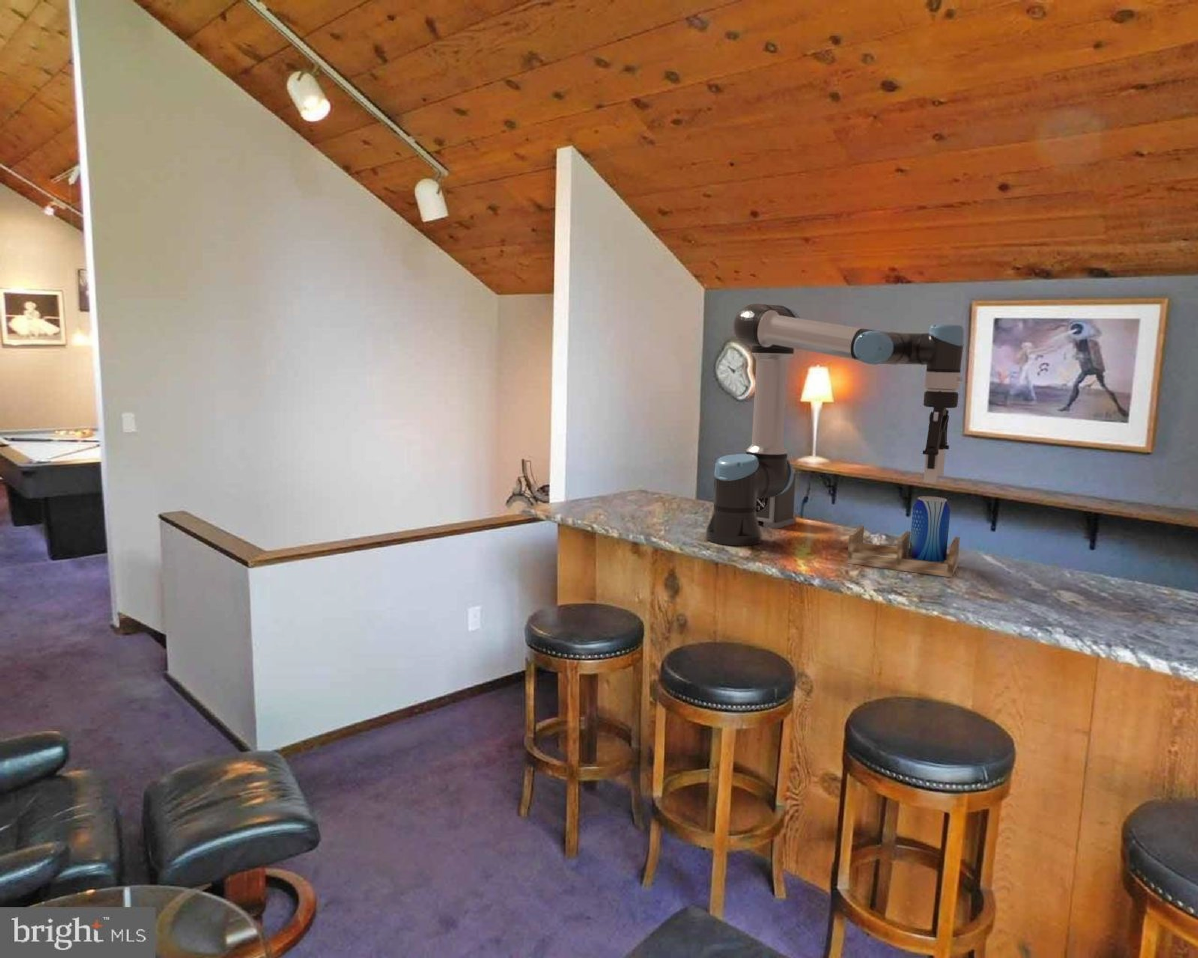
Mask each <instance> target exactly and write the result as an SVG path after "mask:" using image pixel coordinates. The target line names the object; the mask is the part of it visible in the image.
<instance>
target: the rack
mask: <svg viewBox="0 0 1198 958" xmlns="http://www.w3.org/2000/svg"><path fill="white" fill-rule="evenodd" d="M864 531H865V526H864V525H859V526H858V527H857V528H855V529H854V530H853V531H852V532H851V533H850V534H848V545H847V546H848V548H847V560H846V561H847V562H846V564H852V565H858V566H860V565H861V566H865V567H866V566H867V567H874V568H881V569H889V570H896V571H901V572H903V571H904V572H911V573H917V574H926V575H932V576H941V577H947V578H952V577H953V575H954V573H955V571H956V570H957V567H958V561H959V549H960V540H961V537H960V536H955V537H954V538H953V540H952V541H951V544H950V545H949V547H948V548H949V549H948V550H949V551H948V552H947V554H946V560H945V561H944V562H943V564H941V563H933V562H926V561H918V560H911V558H910V557H909V551H910V538H911V530H910V531H908V530H906V531H905V532H904V533H903V534H902V535H901V536H900V537H899V539H898V540H897V546H893V545H885V544H877V543H868V542H864V534H865V533H864Z"/></svg>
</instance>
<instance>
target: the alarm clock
mask: <svg viewBox="0 0 1198 958" xmlns="http://www.w3.org/2000/svg"><path fill="white" fill-rule="evenodd" d="M793 470H794V478H793V481H792V484H791V486H790V487H789V489H788V490H787V491H785V492H784V493H782V494H780V495H777V496H775V497H771V498H768V497H767V498H761V499H756V516H757V520H758V522H759V521H760V522H763V524H762V526H763V527H764V528H770V529H779V528H783V527H786V526H790V525H793V524H796V521H797V518H796V516H794V510H795V509H794V508H795V507H794V506H795V492H796V469H795V468H793Z"/></svg>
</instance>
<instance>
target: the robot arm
mask: <svg viewBox="0 0 1198 958" xmlns="http://www.w3.org/2000/svg"><path fill="white" fill-rule="evenodd" d="M733 332H734V335H735V338H737V339H738V341H739V343H741V344H743V345H744V346H747V347H750V348H751V352H750V353H751V355H752V356H753V358H754V359H755V361H756V362H755V363H756V364H755V383H754V399H753V400H754V401H753V402H754V403H753V414H752V415H753V416H752V417H753V419H752V432H751V433H752V434H751V435H752V439H751V445H750V446H749V447H748V448H747V449H746V450H745V453H736V454H727V455H724V456H721V457H719V458H718V459H717V460H716V462H715V466H714V467H715V468H714V472H713V475H714V484H713V487H714V488H713V508H712V509H713V510H712V511H713V512H712V514H711V517H710V519H709V522H708V525H707V528H706V530H705V531H706V532H705V539H706V540H707V541H708V542H712V543H714V544H718V545H725V546H751V545H756V544H757V545H758V544H759V543H761V541H762V532H761V527H760V525H759V521H758V520H757V516H756V499H761V498H767V497H768V498H771V497H775V496H777V495H780V494H782V493H784V492H785V491H787V490H788V489H789V487H790V486H791V484H792V481H793V478H794V470H793V469H794V466H793V465H792V464H791V461H790V460H789V459H788V450H787V449H786V448H785V446H784V444H783V443H784V442H783V441H784V440H783V439H784V427H785V426H784V425H785V410H786V394H787V393H786V392H787V379H788V377H787V376H788V362H789V360H790V359H791V358H792V357H793V356H794V355H795V349H796V350H802V351H808V352H813V353H818V354H823V355H827V356H828V355H829V356H833V357H834V356H835V357H838V358H839V357H840V358H845V359H850V360H856V361H860V362H861V363H863V364H867V365H879V364H880V365H894V366H895V365H920V366H923V365H924V366H925V365H926V371H925V380H924V388H925V389H926V390H925V392H924V393H923V402H922V403H923V406H924V407H926V408H933V410H932V411H931V412H930V413H929V417H928V419H929V421H928V422H929V423H928V424H929V425H928V432H927V438H926V444H925V449H924V450H923V449H922V455H925V462H924V472H923V483H930V484H937V479H938V476H939V477H943V476H944V469H945V459H946V450H949V448H950V444H948V427H949V420H950V415H949V409H956V408H957V407H958V405H959V392H957V391H958V390H959V389H960V382H962V381H963V379H964V378H963V377H962V376H961V372H962V371H961V368H962V358H963V352H964V346H965V343H964V338H965V337H964V336H965V335H964V334H965V330H964V327H963V325H960V324H943V323H942V324H932V325H930V327H929V331H928V332H924V333H914V332H911V333H910V332H893V331H892V332H891V331H882V330H875V329H868V328H862V327H856V326H847V325H843V324H836V323H830V322H826V321H825V322H823V321H817V320H812V319H811V320H810V319H805V318H801V317H800V314H798V312H797V311H795V310H794V309H792V308H790V307H789V306H784V305H778V304H777V305H776V304H764V303H749V304H747V305H745V306H744V307H742V308H741V309H739V311H738V312H737V313H736V314H735V317H734V320H733Z"/></svg>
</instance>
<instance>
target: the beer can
mask: <svg viewBox="0 0 1198 958" xmlns="http://www.w3.org/2000/svg"><path fill="white" fill-rule="evenodd" d="M916 500H917V501H916V502H915V503H914V504H913V506H912V516H911V527H910V528H911V529H910V532H911V533H910V546H909V548H910V551H909V557H910V558H911V560H918V561H926V562H933V563H941V564H943V562H944V561H945V560H946V554H947V553H948V542H949V541H948V540H949V529H950V518H951V516H950V515H951V508H950V506H949V505H948V504H949V503H948V499H946V498H944V497H940V496H939V497H938V496H929V495H927V496H924V495H922V496H918V497H917V499H916Z"/></svg>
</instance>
